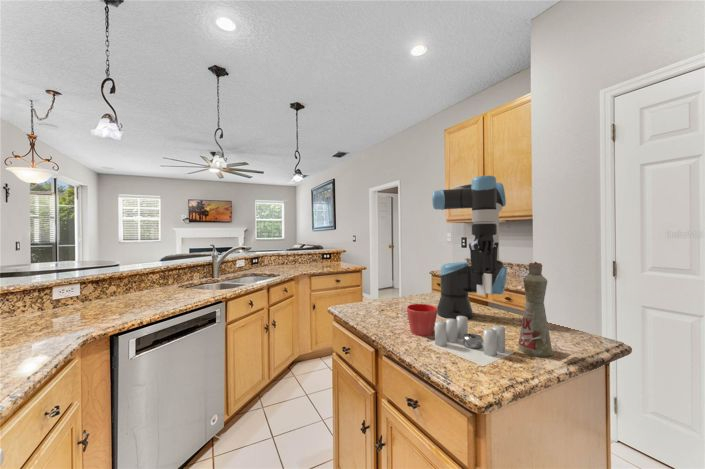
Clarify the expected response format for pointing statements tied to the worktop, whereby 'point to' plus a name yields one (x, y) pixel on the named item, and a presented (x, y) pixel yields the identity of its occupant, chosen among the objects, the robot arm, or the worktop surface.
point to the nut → (472, 341)
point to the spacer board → (452, 341)
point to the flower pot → (422, 319)
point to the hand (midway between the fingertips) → (484, 293)
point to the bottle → (535, 315)
